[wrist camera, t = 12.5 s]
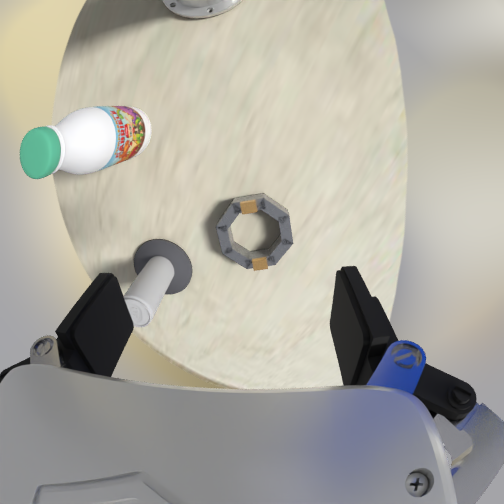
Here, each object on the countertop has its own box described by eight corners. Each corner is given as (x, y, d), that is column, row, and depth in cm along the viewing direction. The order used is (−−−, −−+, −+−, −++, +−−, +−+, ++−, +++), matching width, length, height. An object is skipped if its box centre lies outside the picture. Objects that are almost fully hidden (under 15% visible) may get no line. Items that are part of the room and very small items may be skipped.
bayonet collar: (213, 201, 39) (209, 208, 36) (284, 189, 38) (286, 196, 35) (229, 263, 43) (226, 274, 40) (294, 254, 42) (296, 264, 39)
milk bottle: (117, 166, 37) (25, 210, 19) (101, 121, 34) (1, 139, 16) (160, 145, 36) (75, 175, 18) (143, 97, 32) (48, 92, 14)
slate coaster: (127, 244, 43) (125, 246, 42) (182, 234, 42) (181, 235, 41) (147, 294, 47) (146, 296, 46) (199, 289, 46) (198, 291, 45)
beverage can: (146, 275, 44) (118, 321, 34) (149, 250, 42) (117, 294, 32) (173, 283, 45) (150, 332, 34) (177, 258, 43) (152, 305, 32)
